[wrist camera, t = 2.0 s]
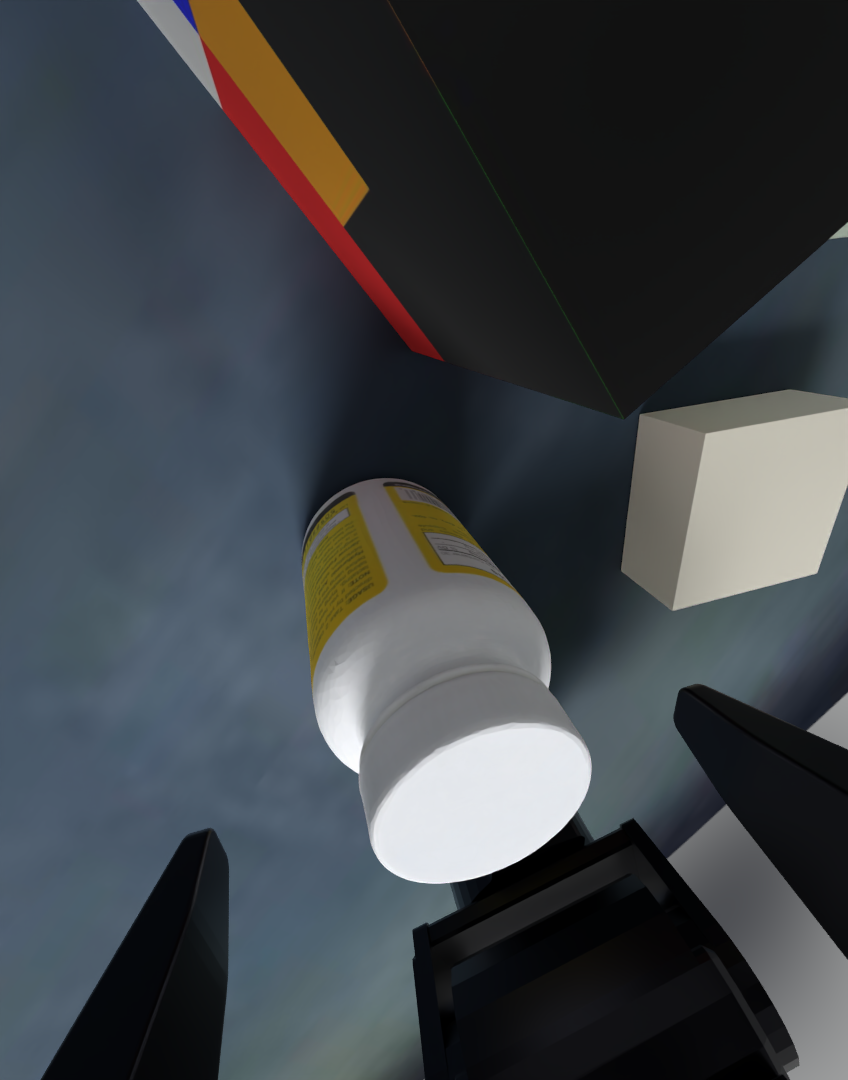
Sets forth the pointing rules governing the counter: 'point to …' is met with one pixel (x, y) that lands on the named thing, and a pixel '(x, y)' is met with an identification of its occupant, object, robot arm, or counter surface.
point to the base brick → (734, 494)
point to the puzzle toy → (545, 165)
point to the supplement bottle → (434, 687)
